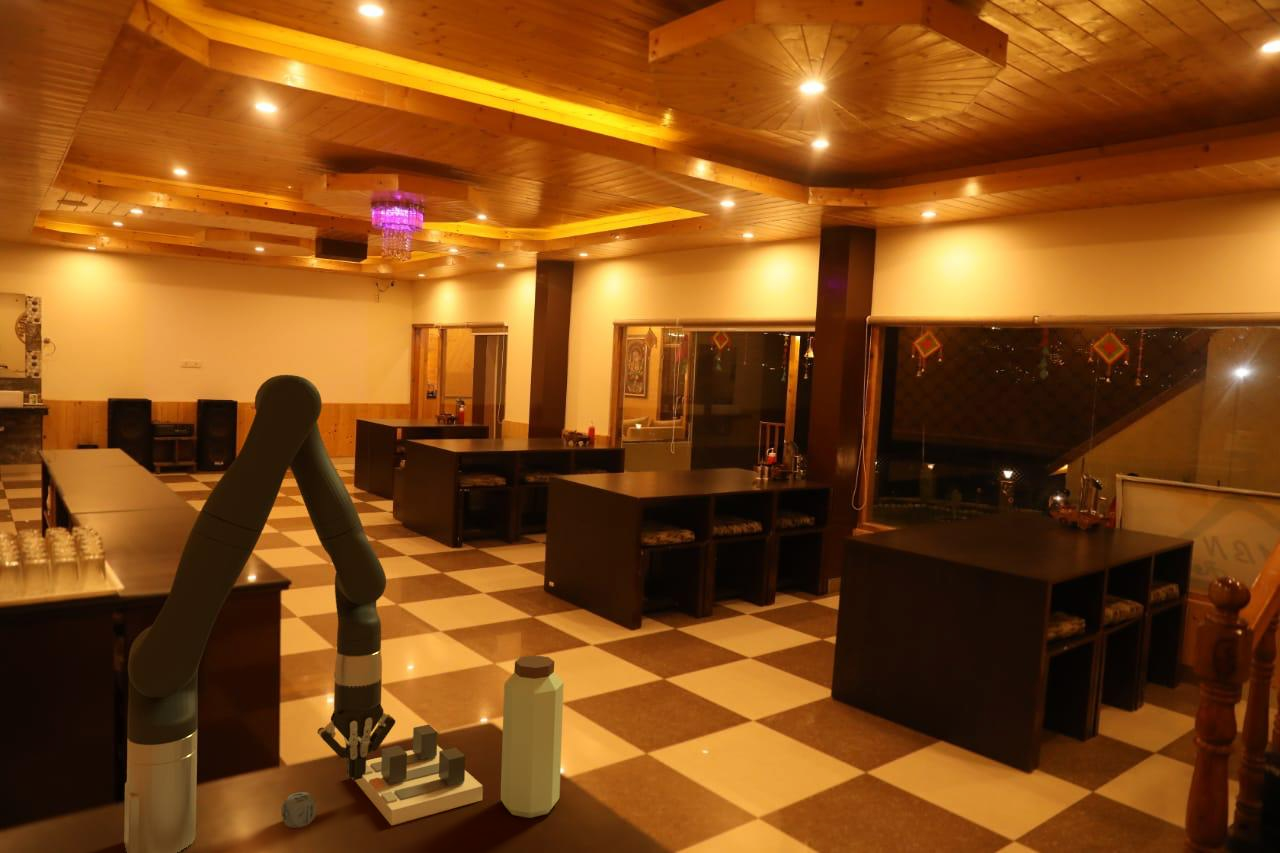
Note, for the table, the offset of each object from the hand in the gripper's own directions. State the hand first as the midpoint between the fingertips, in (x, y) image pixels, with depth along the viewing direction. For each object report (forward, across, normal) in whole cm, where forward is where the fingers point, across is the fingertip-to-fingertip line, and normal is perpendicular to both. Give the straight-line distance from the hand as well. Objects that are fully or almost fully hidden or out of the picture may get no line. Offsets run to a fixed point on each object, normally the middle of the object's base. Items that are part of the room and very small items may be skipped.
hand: (356, 777), depth 143 cm
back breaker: (+2, +15, +6) cm, 16 cm away
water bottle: (+5, +25, -16) cm, 30 cm away
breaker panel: (+5, +11, 0) cm, 12 cm away
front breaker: (+2, +15, -6) cm, 16 cm away
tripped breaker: (+2, +6, 0) cm, 7 cm away
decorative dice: (+5, -9, -1) cm, 11 cm away
